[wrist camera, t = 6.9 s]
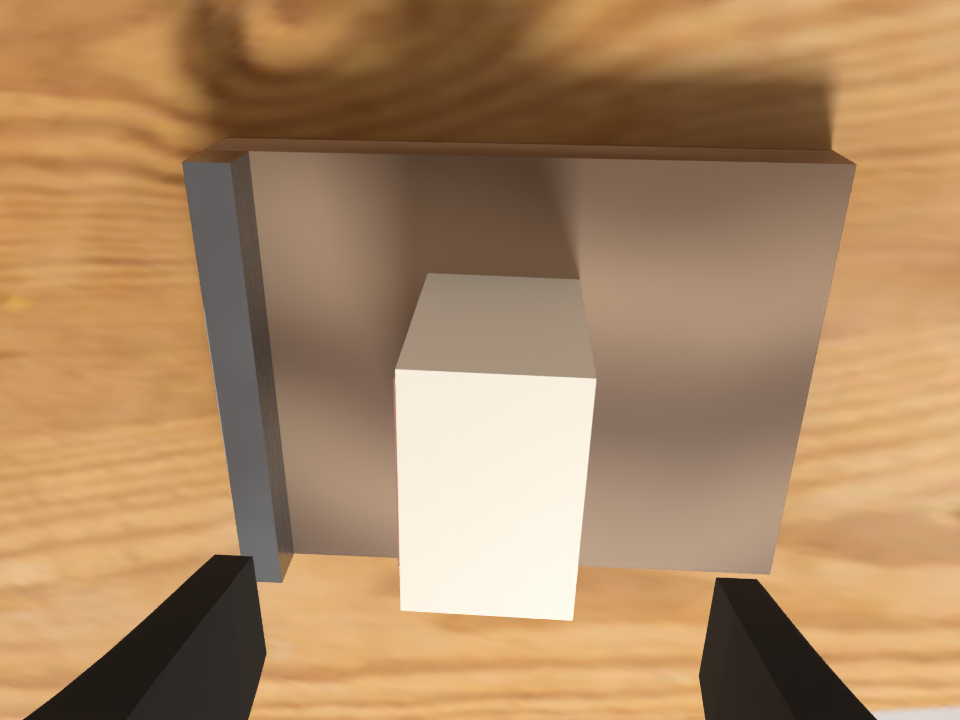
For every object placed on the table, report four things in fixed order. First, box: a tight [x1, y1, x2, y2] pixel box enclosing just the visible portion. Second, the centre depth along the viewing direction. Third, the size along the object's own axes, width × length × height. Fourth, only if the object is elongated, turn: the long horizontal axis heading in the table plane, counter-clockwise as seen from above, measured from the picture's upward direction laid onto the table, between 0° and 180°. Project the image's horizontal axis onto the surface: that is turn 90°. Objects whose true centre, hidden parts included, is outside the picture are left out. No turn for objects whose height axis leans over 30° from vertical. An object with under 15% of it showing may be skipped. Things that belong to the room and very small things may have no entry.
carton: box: [393, 273, 596, 621], centre depth 17 cm, size 6×4×5 cm, turn 179°
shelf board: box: [205, 138, 857, 574], centre depth 20 cm, size 11×14×2 cm
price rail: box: [182, 150, 294, 583], centre depth 19 cm, size 11×1×1 cm, turn 179°
